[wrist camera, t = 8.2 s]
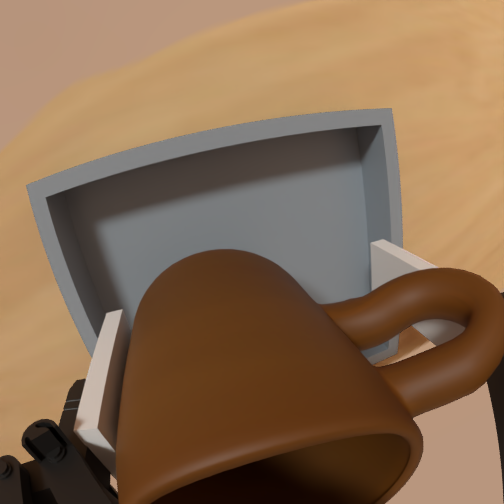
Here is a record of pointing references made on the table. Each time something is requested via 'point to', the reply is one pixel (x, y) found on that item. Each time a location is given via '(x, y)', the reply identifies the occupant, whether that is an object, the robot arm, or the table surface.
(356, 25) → the table surface
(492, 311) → the mug
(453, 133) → the table surface
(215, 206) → the tray
